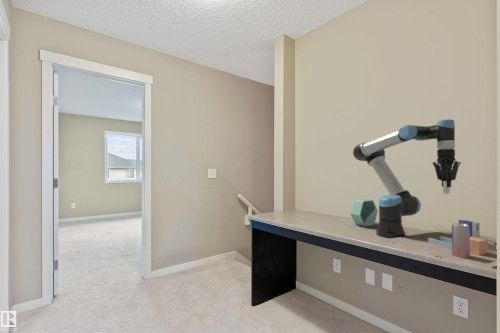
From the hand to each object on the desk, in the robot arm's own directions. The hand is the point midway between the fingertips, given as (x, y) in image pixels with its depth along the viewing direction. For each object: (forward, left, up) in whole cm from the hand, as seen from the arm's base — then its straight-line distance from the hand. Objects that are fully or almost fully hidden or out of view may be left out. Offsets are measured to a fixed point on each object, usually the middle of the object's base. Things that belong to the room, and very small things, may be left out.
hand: (446, 193), depth 134 cm
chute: (+7, -8, -26) cm, 28 cm away
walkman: (+5, +9, -27) cm, 29 cm away
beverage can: (+18, -19, -27) cm, 37 cm away
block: (+17, -8, -25) cm, 31 cm away
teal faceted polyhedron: (-49, -9, -27) cm, 57 cm away
